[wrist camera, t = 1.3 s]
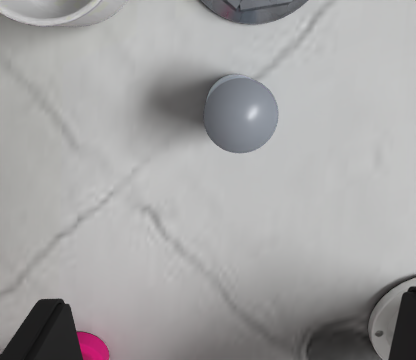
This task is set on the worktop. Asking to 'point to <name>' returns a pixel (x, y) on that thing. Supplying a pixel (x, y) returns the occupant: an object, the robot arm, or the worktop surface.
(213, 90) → the grey domed cylinder
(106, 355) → the pepper mill
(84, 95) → the worktop surface
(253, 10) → the faceted metallic bowl
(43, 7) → the teacup
